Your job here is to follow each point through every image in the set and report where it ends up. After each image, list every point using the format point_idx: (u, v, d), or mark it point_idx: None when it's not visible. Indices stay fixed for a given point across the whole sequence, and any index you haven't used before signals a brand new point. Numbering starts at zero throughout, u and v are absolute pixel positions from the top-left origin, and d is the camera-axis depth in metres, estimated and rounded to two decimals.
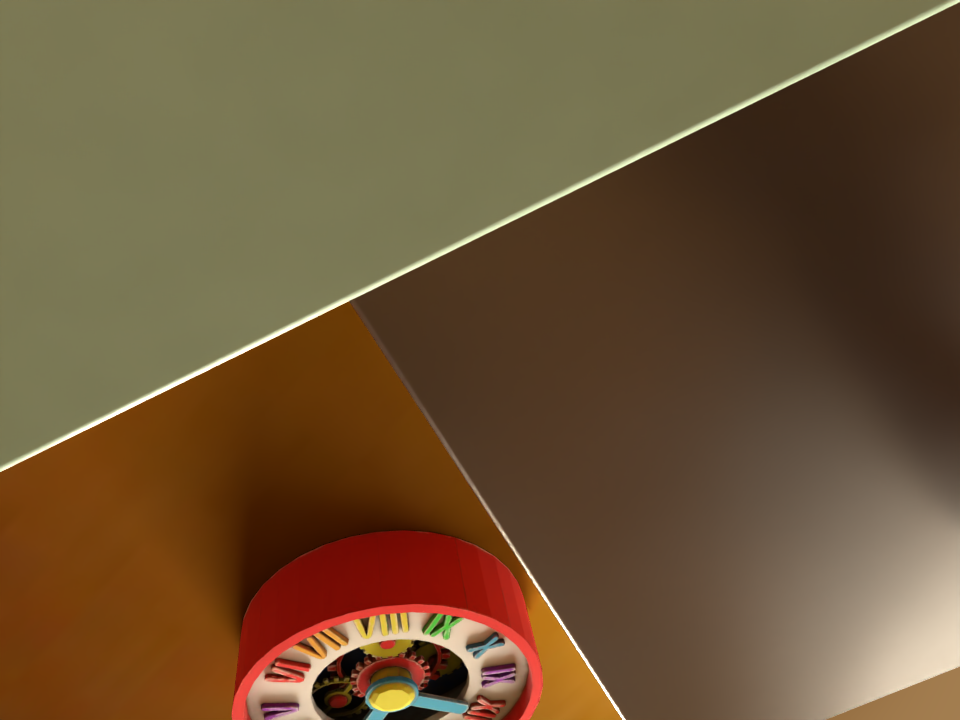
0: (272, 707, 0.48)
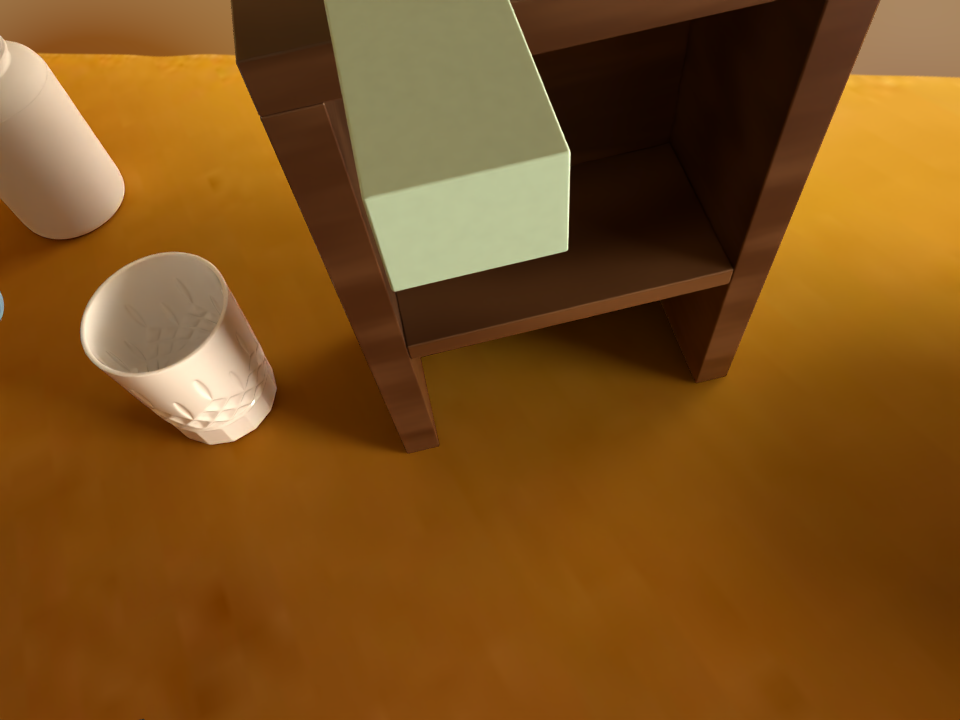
0: None
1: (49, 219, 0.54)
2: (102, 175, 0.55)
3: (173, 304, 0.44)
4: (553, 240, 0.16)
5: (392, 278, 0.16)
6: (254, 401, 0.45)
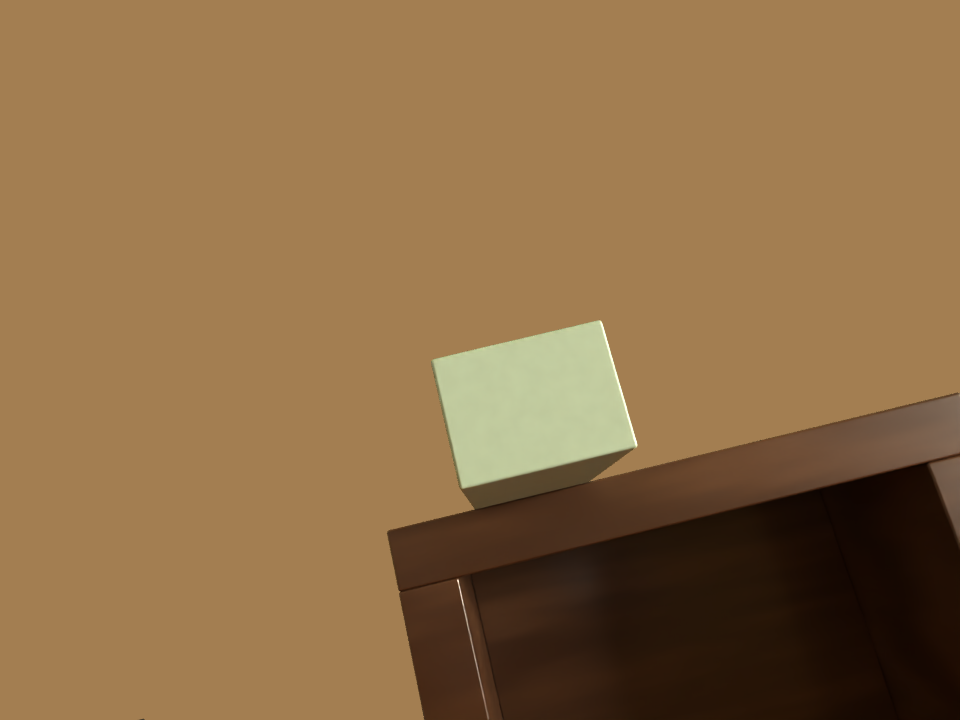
0: None
1: None
2: None
3: None
4: (615, 427, 0.16)
5: (459, 465, 0.16)
6: None
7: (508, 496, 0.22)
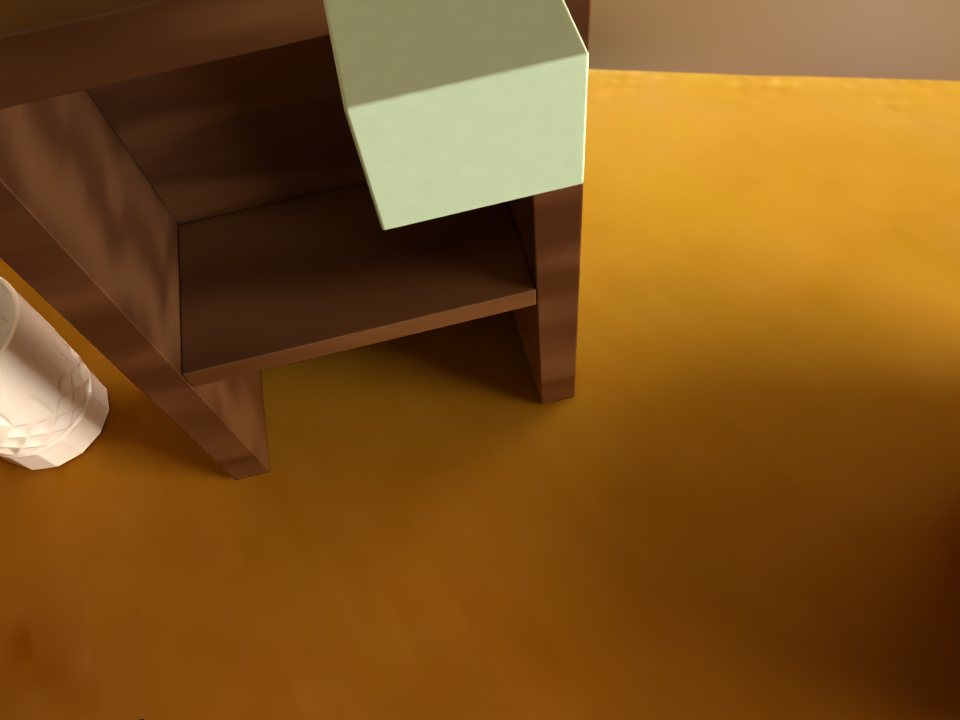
0: None
1: None
2: None
3: None
4: (566, 169, 0.14)
5: (382, 213, 0.14)
6: (74, 425, 0.43)
7: None
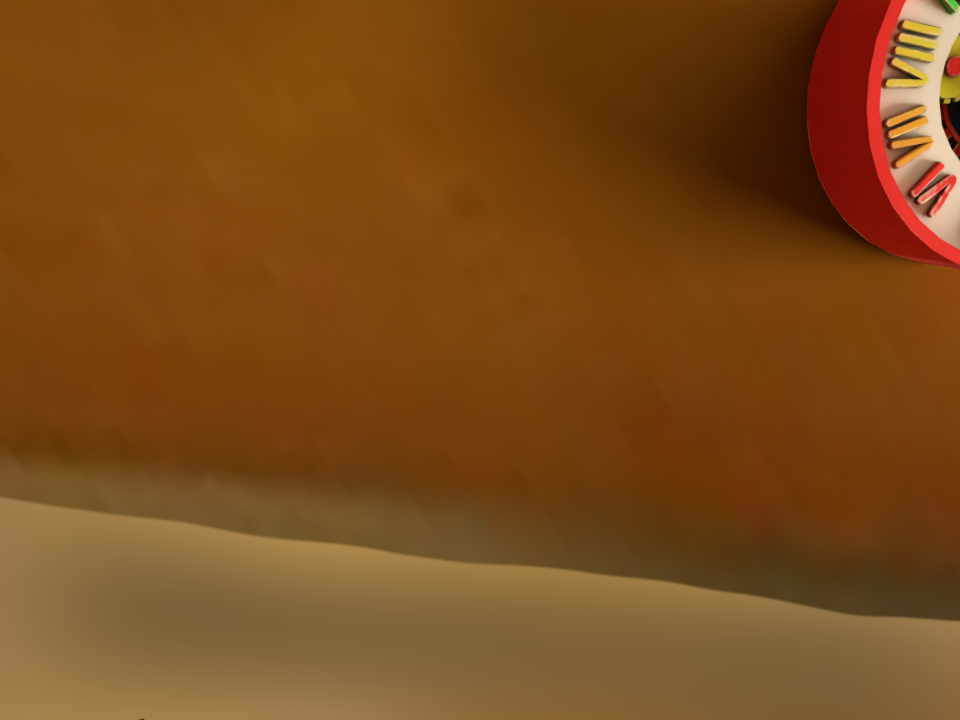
0: None
1: None
2: None
3: None
4: None
5: None
6: None
7: None
